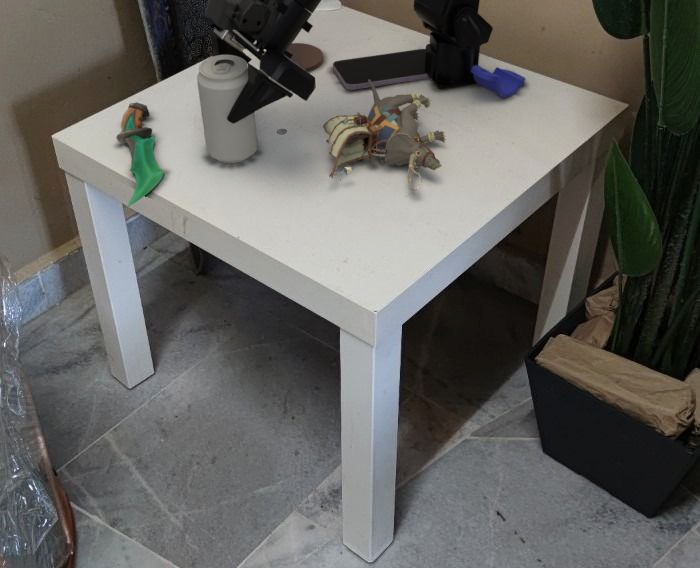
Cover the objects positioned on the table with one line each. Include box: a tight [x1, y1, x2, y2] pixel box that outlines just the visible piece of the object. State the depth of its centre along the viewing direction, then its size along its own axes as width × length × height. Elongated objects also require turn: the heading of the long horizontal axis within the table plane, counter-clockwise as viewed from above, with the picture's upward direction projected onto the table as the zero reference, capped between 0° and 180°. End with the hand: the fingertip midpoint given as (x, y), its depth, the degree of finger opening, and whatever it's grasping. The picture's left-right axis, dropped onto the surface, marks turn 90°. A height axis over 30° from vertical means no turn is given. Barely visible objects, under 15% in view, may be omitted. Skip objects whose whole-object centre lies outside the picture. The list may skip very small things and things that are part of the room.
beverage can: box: [196, 55, 259, 164], centre depth 111 cm, size 6×6×12 cm
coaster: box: [287, 42, 324, 72], centre depth 132 cm, size 8×8×1 cm
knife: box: [116, 102, 165, 208], centre depth 113 cm, size 21×2×5 cm
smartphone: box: [332, 48, 430, 90], centre depth 129 cm, size 7×1×15 cm
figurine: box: [322, 79, 447, 194], centre depth 112 cm, size 20×6×17 cm
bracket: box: [471, 64, 526, 99], centre depth 124 cm, size 9×5×3 cm, turn 129°
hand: (217, 109), depth 110 cm, fingers closed on beverage can, 6 cm apart
